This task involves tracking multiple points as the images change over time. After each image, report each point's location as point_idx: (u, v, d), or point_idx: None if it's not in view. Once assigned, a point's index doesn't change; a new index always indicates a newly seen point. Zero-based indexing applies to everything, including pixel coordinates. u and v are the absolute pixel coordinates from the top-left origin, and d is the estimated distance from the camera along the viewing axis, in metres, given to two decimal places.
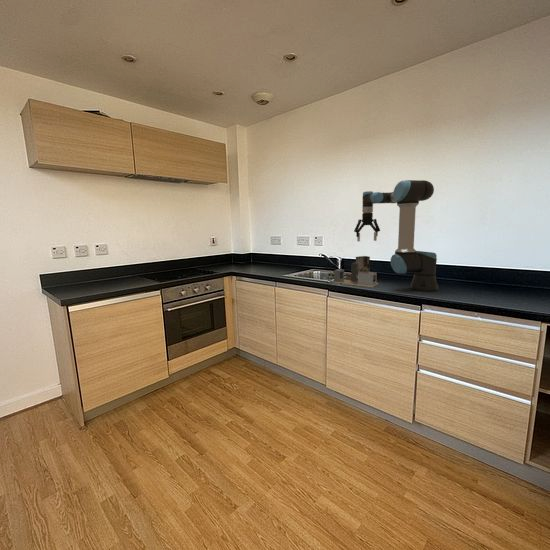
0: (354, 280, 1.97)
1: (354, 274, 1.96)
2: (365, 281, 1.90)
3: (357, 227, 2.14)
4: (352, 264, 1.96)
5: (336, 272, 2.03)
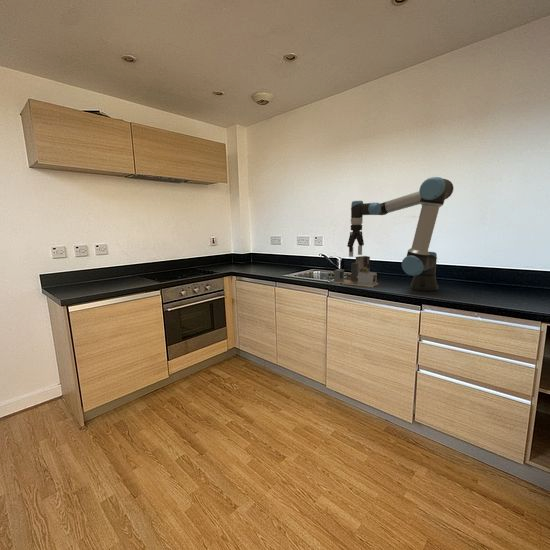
0: (354, 280, 1.97)
1: (354, 274, 1.96)
2: (365, 281, 1.90)
3: (352, 241, 1.87)
4: (352, 264, 1.96)
5: (336, 272, 2.03)
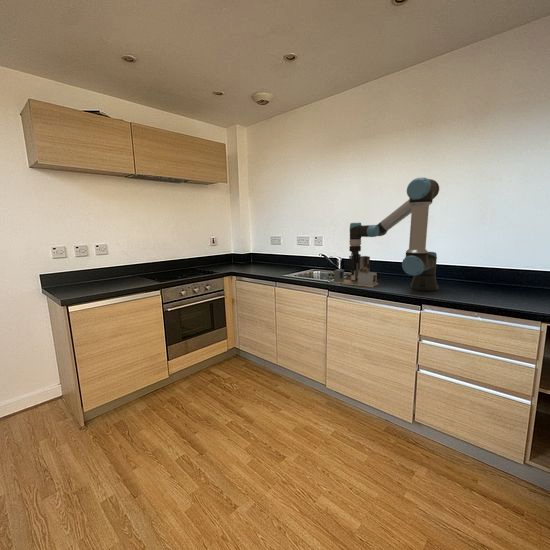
0: (354, 280, 1.97)
1: None
2: (365, 281, 1.90)
3: (353, 265, 1.92)
4: None
5: (336, 272, 2.03)
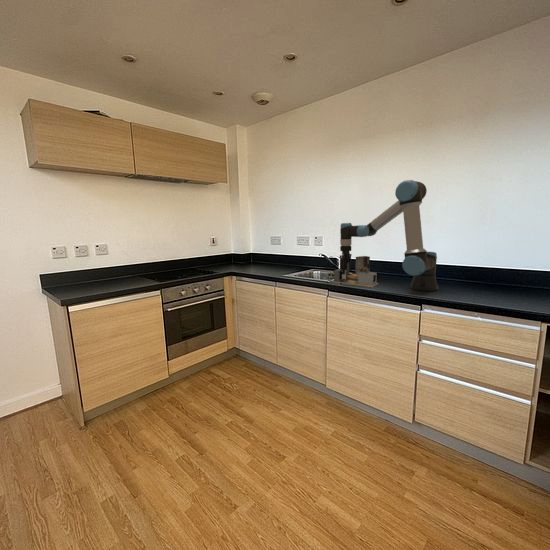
0: (345, 279, 2.01)
1: None
2: (365, 281, 1.90)
3: (343, 264, 1.97)
4: None
5: (336, 272, 2.03)
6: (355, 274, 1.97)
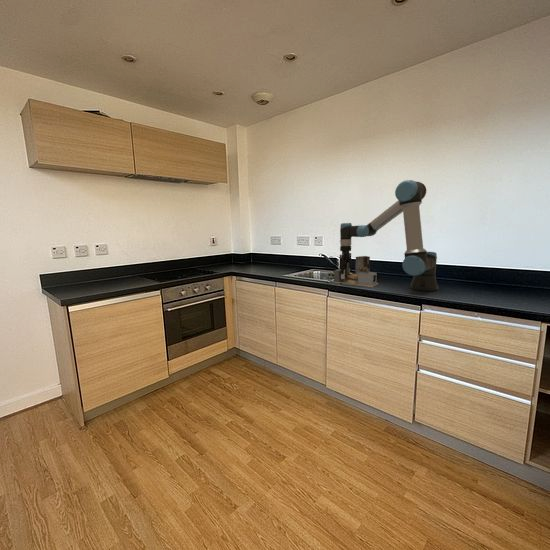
0: (345, 279, 2.01)
1: (345, 273, 2.01)
2: (365, 281, 1.90)
3: (342, 264, 1.96)
4: None
5: (336, 272, 2.03)
6: (355, 274, 1.97)
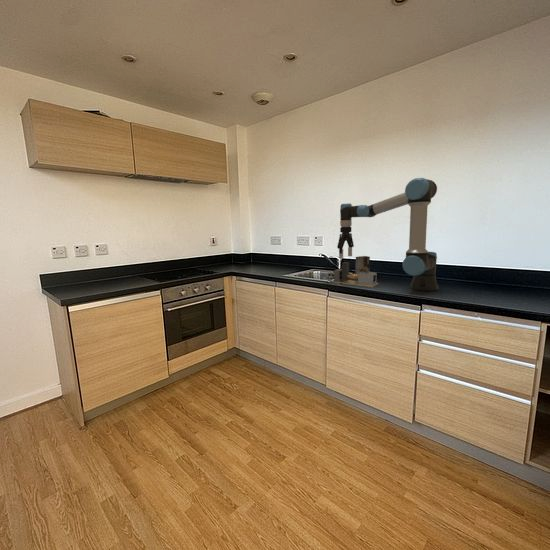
0: (345, 279, 2.01)
1: (345, 273, 2.01)
2: (365, 281, 1.90)
3: (341, 242, 1.92)
4: (343, 263, 2.01)
5: (336, 272, 2.03)
6: (355, 274, 1.97)
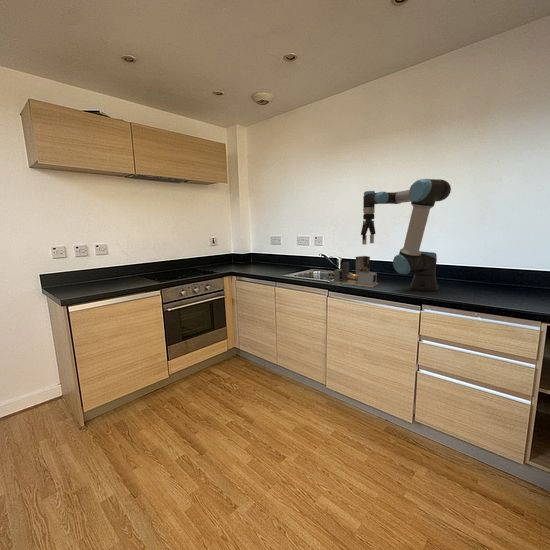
0: (345, 279, 2.01)
1: (345, 273, 2.01)
2: (365, 281, 1.90)
3: (365, 229, 1.96)
4: (343, 263, 2.01)
5: (336, 272, 2.03)
6: (355, 274, 1.97)
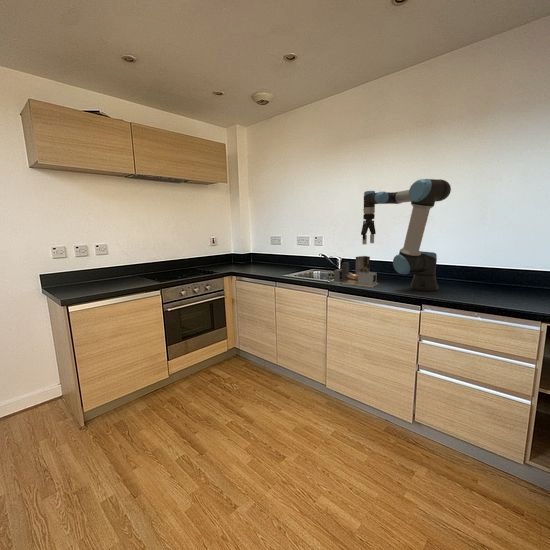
0: (345, 279, 2.01)
1: (345, 273, 2.01)
2: (365, 281, 1.90)
3: (365, 229, 1.96)
4: (343, 263, 2.01)
5: (336, 272, 2.03)
6: (355, 274, 1.97)
